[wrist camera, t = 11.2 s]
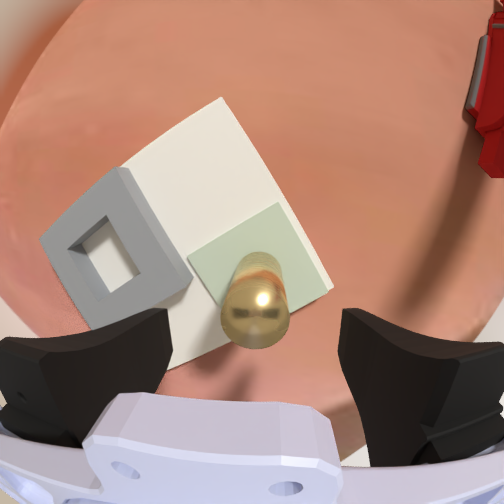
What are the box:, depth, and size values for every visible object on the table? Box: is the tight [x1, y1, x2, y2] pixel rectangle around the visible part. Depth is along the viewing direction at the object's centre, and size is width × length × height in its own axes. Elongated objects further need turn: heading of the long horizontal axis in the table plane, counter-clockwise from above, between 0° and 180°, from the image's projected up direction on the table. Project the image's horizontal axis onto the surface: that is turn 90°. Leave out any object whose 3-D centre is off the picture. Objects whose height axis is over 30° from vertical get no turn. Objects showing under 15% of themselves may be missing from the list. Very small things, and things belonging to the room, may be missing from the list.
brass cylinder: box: [220, 252, 290, 349], centre depth 16 cm, size 3×3×7 cm
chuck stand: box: [39, 97, 334, 371], centre depth 19 cm, size 15×17×3 cm
